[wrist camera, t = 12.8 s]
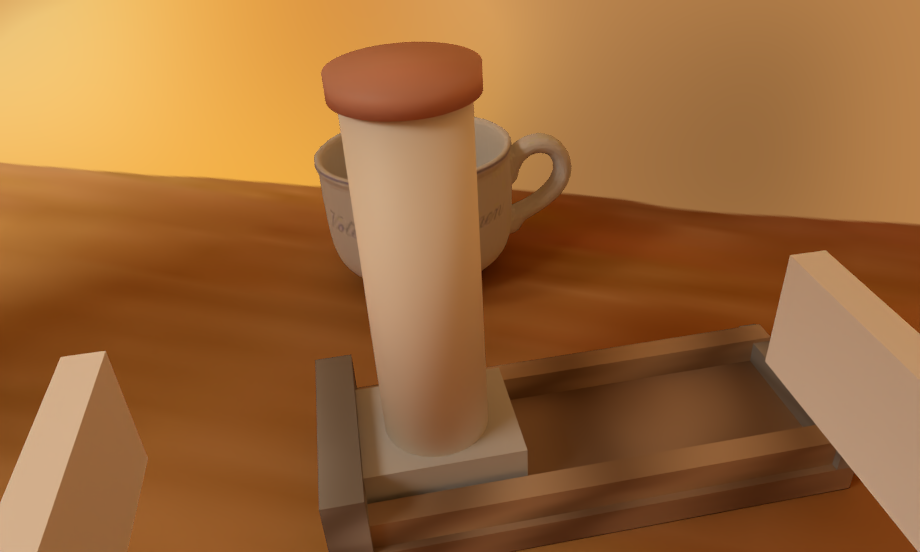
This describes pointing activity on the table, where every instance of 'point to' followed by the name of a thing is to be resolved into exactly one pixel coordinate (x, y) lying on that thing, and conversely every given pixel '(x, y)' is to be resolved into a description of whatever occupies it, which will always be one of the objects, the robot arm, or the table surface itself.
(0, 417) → the table surface
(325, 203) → the teacup
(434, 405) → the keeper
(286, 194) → the table surface
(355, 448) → the track
